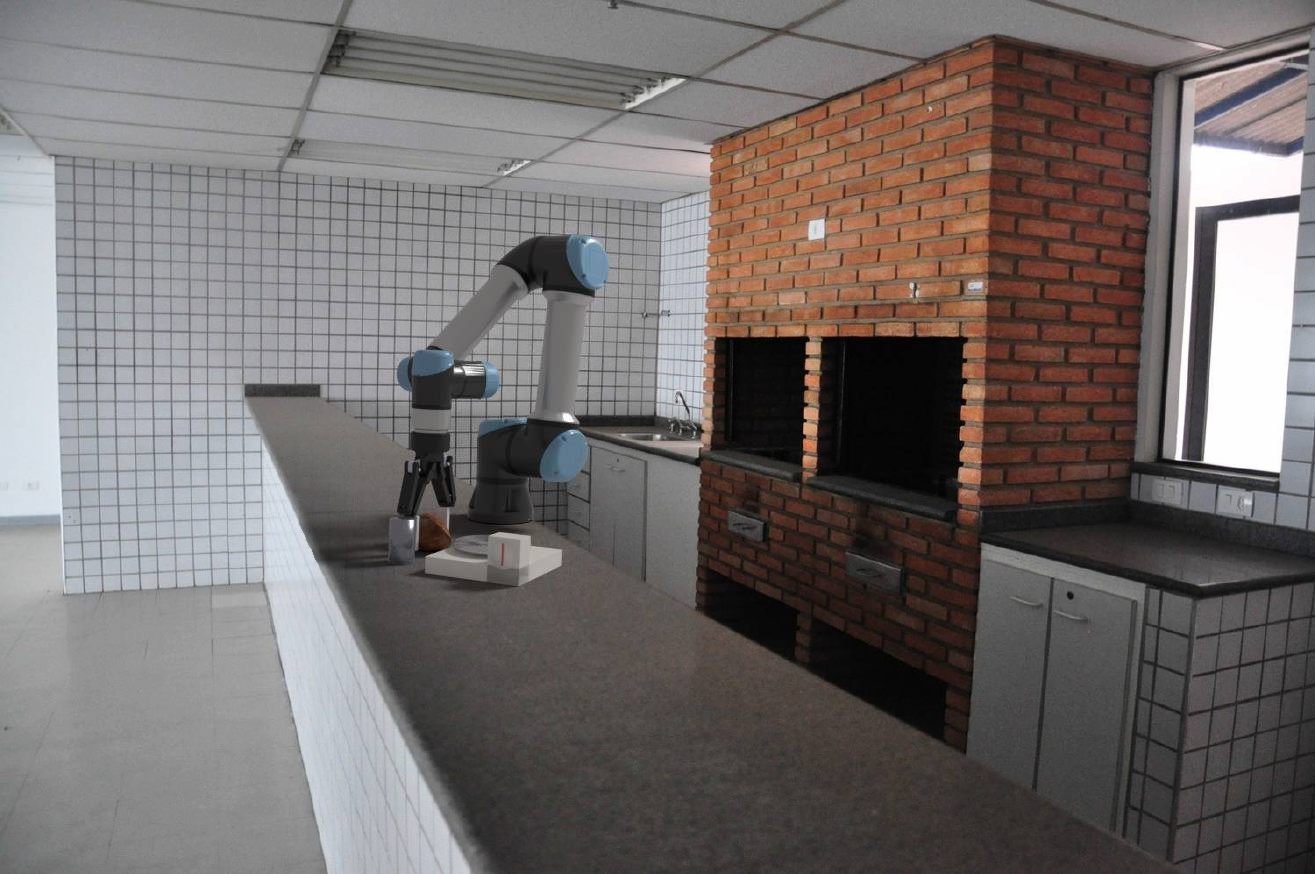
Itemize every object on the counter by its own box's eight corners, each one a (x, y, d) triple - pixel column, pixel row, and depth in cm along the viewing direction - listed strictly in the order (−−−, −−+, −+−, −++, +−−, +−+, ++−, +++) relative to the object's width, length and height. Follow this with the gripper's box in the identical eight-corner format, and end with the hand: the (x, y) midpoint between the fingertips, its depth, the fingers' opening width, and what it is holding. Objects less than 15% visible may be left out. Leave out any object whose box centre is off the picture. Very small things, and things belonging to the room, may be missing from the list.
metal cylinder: (397, 558, 185) (398, 515, 184) (419, 561, 184) (420, 518, 183) (383, 563, 181) (384, 519, 180) (405, 566, 180) (406, 522, 179)
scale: (474, 554, 192) (476, 512, 191) (561, 565, 187) (563, 523, 186) (423, 573, 175) (425, 528, 174) (517, 587, 169) (519, 540, 168)
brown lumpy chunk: (462, 538, 190) (435, 492, 190) (422, 560, 186) (395, 514, 186) (450, 548, 201) (425, 505, 201) (413, 569, 197) (388, 526, 198)
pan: (476, 539, 191) (476, 531, 191) (543, 548, 187) (544, 540, 187) (438, 552, 178) (438, 544, 178) (509, 562, 174) (510, 554, 174)
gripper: (443, 425, 204) (440, 532, 206) (379, 433, 182) (375, 552, 185) (476, 428, 202) (472, 536, 204) (415, 436, 180) (411, 557, 182)
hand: (426, 544), depth 194 cm, fingers open, 10 cm apart
